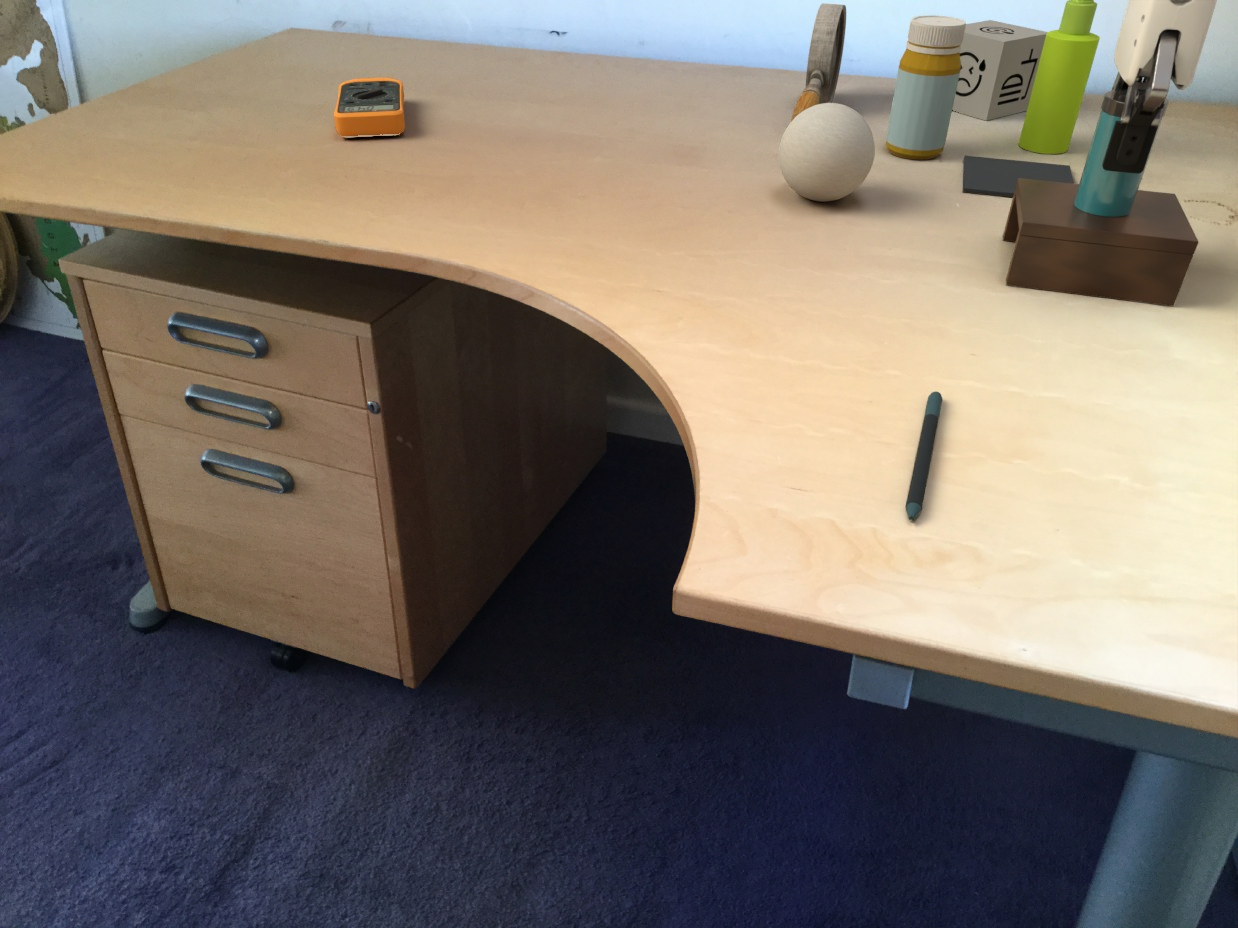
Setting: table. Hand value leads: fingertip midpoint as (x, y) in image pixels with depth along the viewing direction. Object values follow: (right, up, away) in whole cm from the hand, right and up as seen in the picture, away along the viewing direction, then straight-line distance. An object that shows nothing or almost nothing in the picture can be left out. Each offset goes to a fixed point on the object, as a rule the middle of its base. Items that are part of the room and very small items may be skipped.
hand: (1117, 157), depth 82 cm
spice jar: (0, -4, +3) cm, 5 cm away
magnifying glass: (-17, +21, +47) cm, 54 cm away
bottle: (-7, +12, +34) cm, 37 cm away
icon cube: (+8, +24, +51) cm, 57 cm away
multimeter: (-77, +19, +44) cm, 90 cm away
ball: (-22, +2, +21) cm, 30 cm away
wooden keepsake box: (0, -8, +6) cm, 11 cm away
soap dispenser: (+10, +13, +36) cm, 39 cm away
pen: (-23, -27, -18) cm, 40 cm away
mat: (+2, +6, +26) cm, 27 cm away
